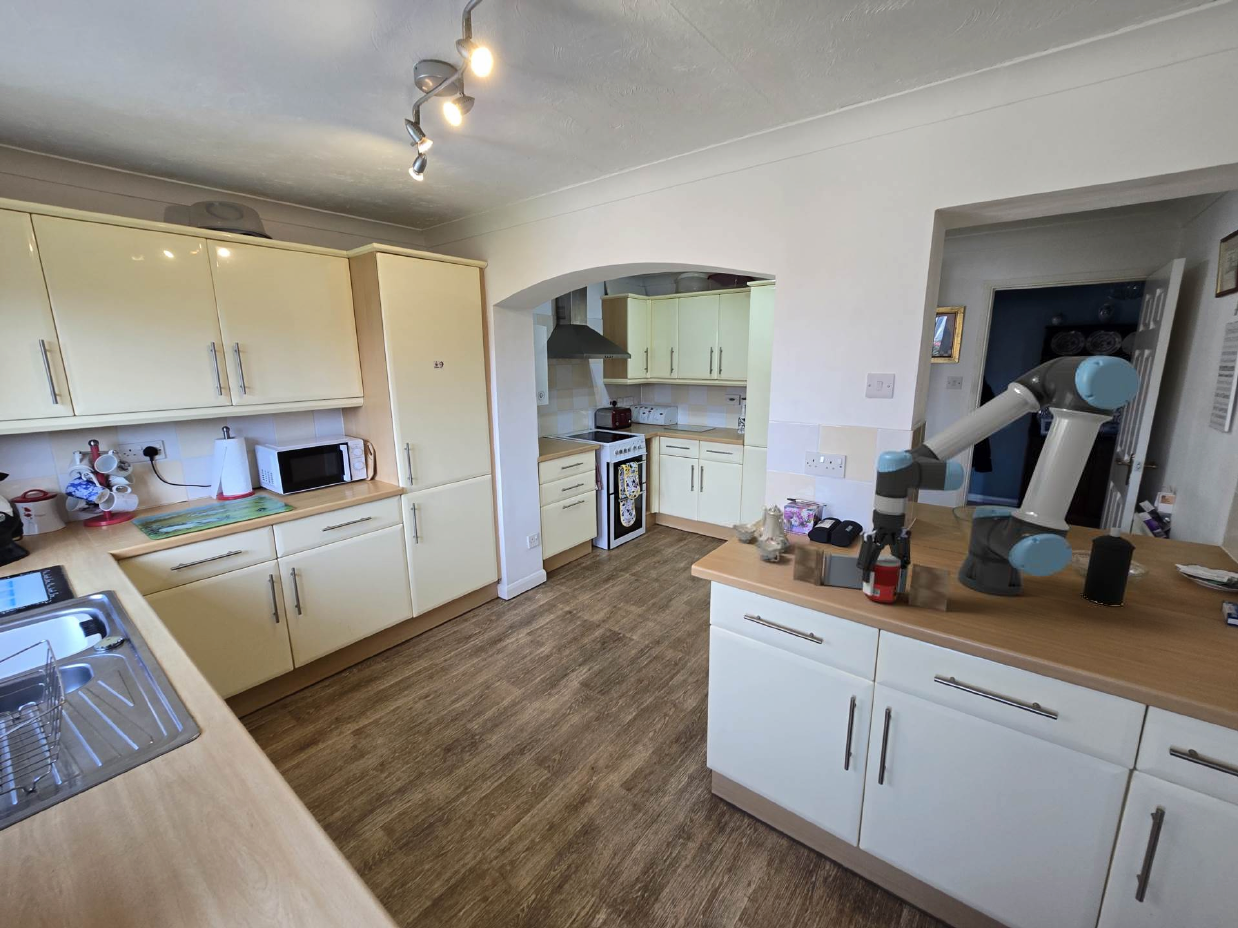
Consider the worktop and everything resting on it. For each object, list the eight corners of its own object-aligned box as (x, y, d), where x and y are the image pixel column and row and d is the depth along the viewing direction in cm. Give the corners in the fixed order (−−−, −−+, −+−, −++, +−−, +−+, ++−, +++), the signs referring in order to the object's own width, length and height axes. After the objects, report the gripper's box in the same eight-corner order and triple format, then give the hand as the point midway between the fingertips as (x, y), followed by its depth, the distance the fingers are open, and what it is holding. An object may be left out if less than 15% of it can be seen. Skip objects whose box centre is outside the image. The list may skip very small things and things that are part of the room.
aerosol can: (1109, 608, 128) (1124, 535, 124) (1073, 594, 136) (1086, 525, 132) (1131, 604, 131) (1147, 532, 127) (1094, 590, 138) (1108, 522, 134)
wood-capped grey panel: (945, 607, 130) (950, 570, 128) (945, 612, 127) (950, 574, 125) (795, 576, 149) (797, 543, 147) (792, 580, 147) (795, 546, 145)
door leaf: (903, 590, 138) (907, 560, 137) (905, 593, 137) (908, 563, 135) (822, 581, 144) (824, 552, 143) (823, 584, 143) (825, 555, 141)
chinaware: (724, 542, 183) (721, 499, 179) (764, 533, 187) (762, 491, 183) (766, 572, 156) (764, 523, 152) (812, 561, 160) (811, 512, 157)
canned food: (900, 604, 130) (905, 565, 128) (868, 601, 132) (872, 563, 130) (891, 591, 138) (895, 554, 136) (860, 589, 139) (863, 552, 137)
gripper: (910, 503, 136) (901, 581, 140) (845, 509, 131) (838, 589, 136) (933, 511, 129) (923, 592, 133) (866, 518, 124) (857, 602, 128)
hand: (880, 591), depth 134 cm, fingers closed on canned food, 8 cm apart
